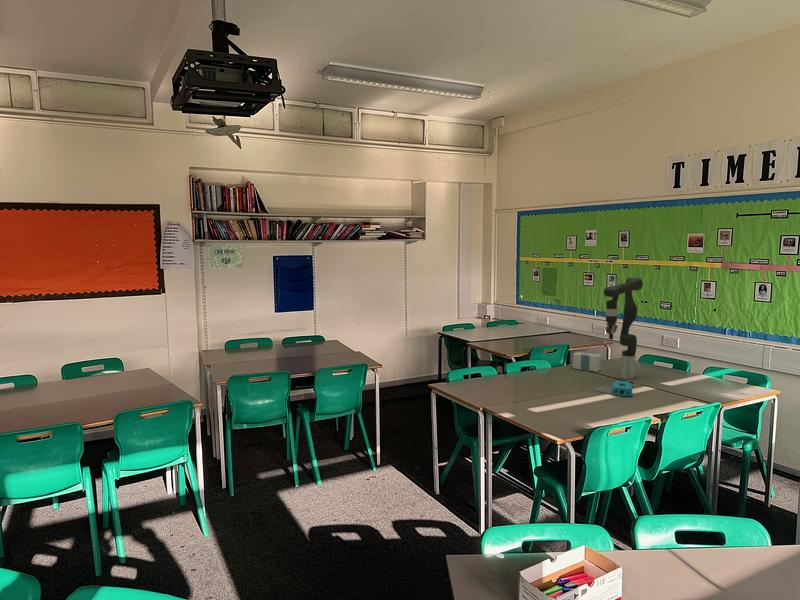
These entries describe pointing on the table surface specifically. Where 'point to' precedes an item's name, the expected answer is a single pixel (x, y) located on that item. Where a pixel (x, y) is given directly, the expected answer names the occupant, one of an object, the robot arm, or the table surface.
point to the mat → (604, 390)
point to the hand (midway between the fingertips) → (611, 339)
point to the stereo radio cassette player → (587, 361)
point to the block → (622, 388)
